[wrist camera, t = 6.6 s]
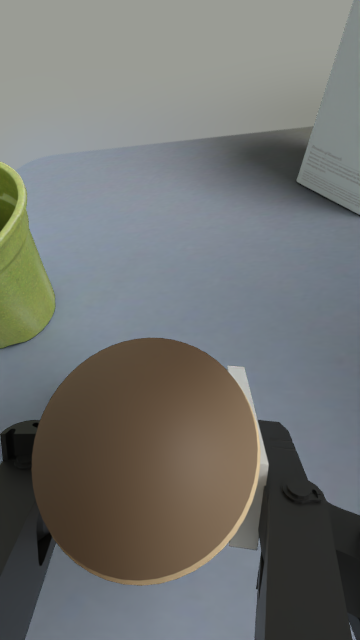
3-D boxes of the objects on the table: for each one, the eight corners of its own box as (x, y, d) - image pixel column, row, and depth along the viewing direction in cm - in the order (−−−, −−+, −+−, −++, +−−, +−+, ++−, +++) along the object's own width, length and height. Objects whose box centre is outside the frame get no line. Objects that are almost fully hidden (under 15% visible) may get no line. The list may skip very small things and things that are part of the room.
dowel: (219, 447, 16) (260, 341, 6) (215, 537, 14) (268, 612, 4) (146, 439, 17) (68, 326, 6) (132, 525, 15) (-18, 566, 4)
